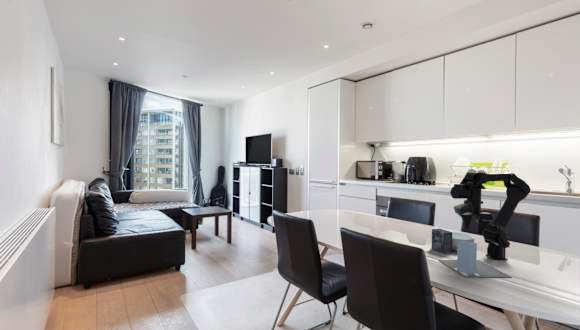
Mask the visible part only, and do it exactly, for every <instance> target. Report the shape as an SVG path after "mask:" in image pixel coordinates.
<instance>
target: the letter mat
mask: <svg viewBox="0 0 580 330" xmlns="http://www.w3.org/2000/svg"><path fill="white" fill-rule="evenodd" d="M438 262H440V263H441V264H442V265H444V266H446V267H448V268H449V269H451V270H452V271H454V272H455V273H457V274H458V275H460V276H462V277H463V278H466V279H467V278H470V279H471V278H477V279H478V278H481V279H482V278H483V279H484V278H487V279H489V278H490V279H491V278H492V279H494V278H495V279H511V278H512V275H509V274H507V273H505V272H503V271H501V270H500V269H497V268H495V267H493V266H491V265H489V264H488V263H485V262H483V261H482V260H479V259H476V273H474V274H471V275H468V274H465V273H462V272H459V271H457V259H438Z"/></svg>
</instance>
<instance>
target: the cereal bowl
mask: <svg viewBox="0 0 580 330" xmlns="http://www.w3.org/2000/svg"><path fill="white" fill-rule="evenodd" d="M451 232H452V251H457V247H458V242H460V241H464V240H465V241H469V242H473V243H475V237H474V236H472V235H470V234H466V233H463V232H456V231H451Z"/></svg>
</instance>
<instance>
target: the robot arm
mask: <svg viewBox="0 0 580 330" xmlns="http://www.w3.org/2000/svg"><path fill="white" fill-rule="evenodd" d="M488 182H489V183H490V182H503V186H504V187H505V188H506V190H505V193H506V198H505V200H504V202H503V204H502V206H501V208H500V210H499V211H498V213H497V215H496V217H495V216H494V214H492V213H491V212H490V213H489V212H485V211H484V210H483V209H482V205H483V204H484V201H483V200H482V190H486V189H487V188H486V186H484V184H486V183H488ZM449 193H450V197H452V198H453V199H454V200H455V199H457V200H459V199H460V200H461V199H463V203H460V204H457V205H454V206H453V210H454V212H455V214H457V216H459V217H460V218H461V220H462V223H463V226H464V229H465V230H469V228H470V224H471V221H472V218H473V216H474V221H476V223H477V224H476V225H477V233H478V235H482V237H483V240H484V242H485V244H487V248H486V254H485V257H488V258H491V259H492V260H495V261H501V260H502V261H507V260H509V258H507V257H506V253H507V248H510V246H511V245H510V244H511V242H510V241H509V240H508V239H507V238H506V237H507V231H506V230H507V228H506V227H507V225H508V224H509V221H510V220H511V219H512V216H513V214H514V212H515V211H516V208H517V207H518V204H519V203H521V201H523V200H525V199H526V198H527V197H528V195H529V194H530V193H531V186H530V185H529V184H528V183H527V182H526V180H525V181H524V180H523V179H522V178H520V177H519V176H517V175H516V173H514V172H496V173H495V172H493V173H488V172H487V173H486V172H482V171H481V172H480V171H467V172H466V173H465V175H464V177H463V178H462V180H461V182H459V183H453V187H451V189H450V192H449ZM494 217H495V219H494ZM492 221H493V222H492ZM491 222H492V223H491Z"/></svg>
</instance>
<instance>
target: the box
mask: <svg viewBox="0 0 580 330" xmlns="http://www.w3.org/2000/svg"><path fill="white" fill-rule="evenodd" d="M452 232H453V231H449V230H445V229H442V228H433V229H431V250H434V251H436V252H439V253H441V254H444V255H445V254H451V253H452V252H453V249H452Z"/></svg>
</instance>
